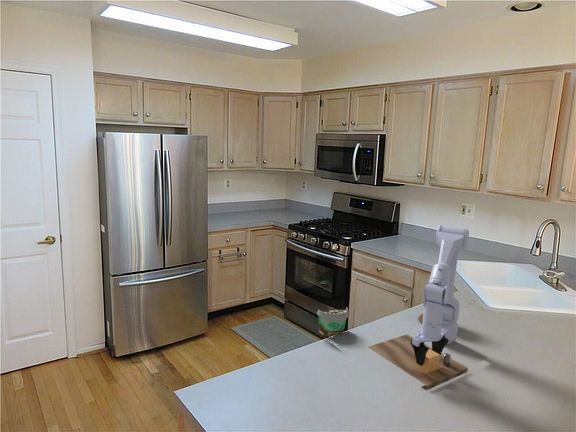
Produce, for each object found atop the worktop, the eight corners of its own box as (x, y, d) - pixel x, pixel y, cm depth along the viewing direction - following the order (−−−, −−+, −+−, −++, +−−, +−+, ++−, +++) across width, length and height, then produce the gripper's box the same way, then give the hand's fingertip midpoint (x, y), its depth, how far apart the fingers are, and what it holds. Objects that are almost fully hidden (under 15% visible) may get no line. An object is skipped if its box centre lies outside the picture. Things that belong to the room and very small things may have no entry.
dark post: (444, 366, 127) (446, 352, 126) (450, 369, 126) (451, 355, 125) (440, 368, 126) (442, 354, 125) (446, 371, 125) (448, 357, 124)
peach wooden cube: (425, 361, 127) (426, 347, 126) (438, 369, 123) (439, 354, 122) (414, 365, 124) (416, 351, 124) (427, 373, 120) (429, 358, 119)
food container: (321, 342, 139) (322, 316, 138) (315, 334, 145) (317, 309, 143) (352, 339, 143) (354, 313, 141) (345, 331, 149) (347, 306, 147)
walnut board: (406, 338, 146) (406, 334, 145) (467, 372, 125) (467, 367, 125) (367, 350, 135) (367, 346, 135) (426, 390, 114) (427, 385, 114)
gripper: (436, 311, 128) (431, 349, 130) (406, 320, 120) (402, 360, 123) (455, 320, 122) (450, 359, 124) (425, 330, 114) (420, 372, 117)
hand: (427, 361), depth 123 cm, fingers open, 7 cm apart
